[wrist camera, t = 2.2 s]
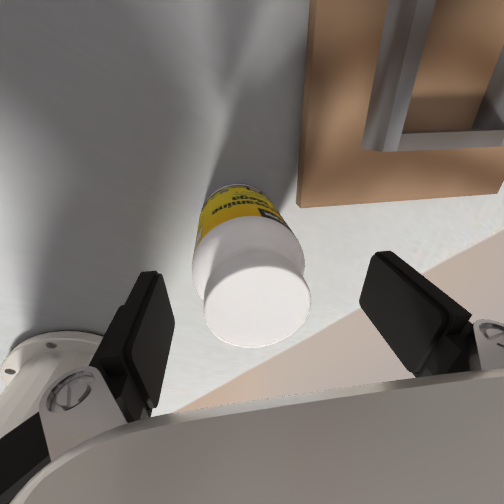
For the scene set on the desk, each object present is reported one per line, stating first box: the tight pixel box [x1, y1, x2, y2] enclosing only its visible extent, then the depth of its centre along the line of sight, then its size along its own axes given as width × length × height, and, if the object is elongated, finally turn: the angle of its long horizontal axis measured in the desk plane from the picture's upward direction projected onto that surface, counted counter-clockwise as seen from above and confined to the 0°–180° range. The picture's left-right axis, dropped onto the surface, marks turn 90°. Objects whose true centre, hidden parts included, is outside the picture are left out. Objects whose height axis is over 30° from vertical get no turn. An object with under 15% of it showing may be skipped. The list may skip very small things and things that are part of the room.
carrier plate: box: [296, 0, 504, 208], centre depth 14 cm, size 18×18×4 cm
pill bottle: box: [192, 184, 311, 348], centre depth 15 cm, size 6×6×11 cm
